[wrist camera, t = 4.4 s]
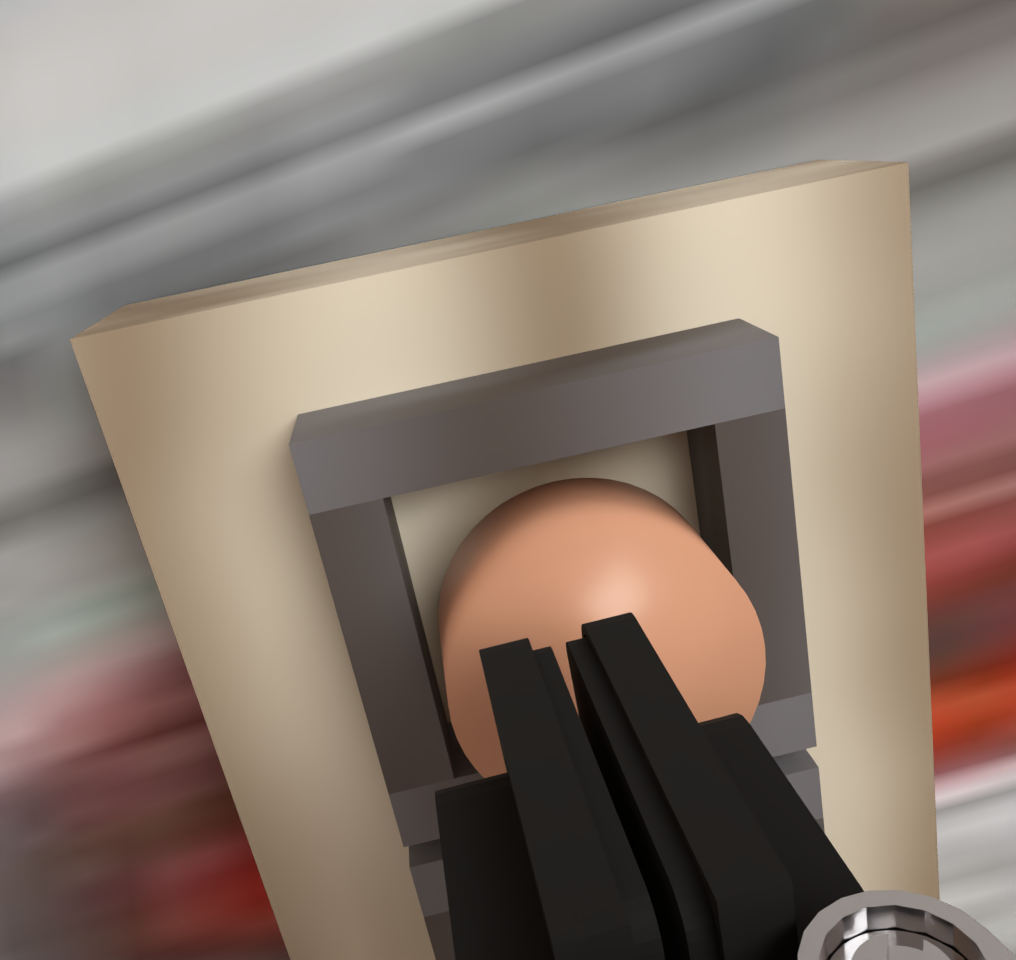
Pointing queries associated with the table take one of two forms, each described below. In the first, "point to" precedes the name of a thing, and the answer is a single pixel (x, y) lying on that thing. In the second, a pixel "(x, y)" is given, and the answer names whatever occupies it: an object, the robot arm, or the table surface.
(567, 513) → the button terracotta
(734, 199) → the button board
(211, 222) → the table surface
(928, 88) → the table surface
